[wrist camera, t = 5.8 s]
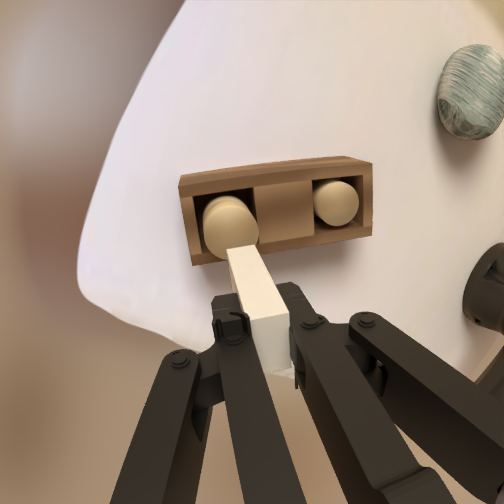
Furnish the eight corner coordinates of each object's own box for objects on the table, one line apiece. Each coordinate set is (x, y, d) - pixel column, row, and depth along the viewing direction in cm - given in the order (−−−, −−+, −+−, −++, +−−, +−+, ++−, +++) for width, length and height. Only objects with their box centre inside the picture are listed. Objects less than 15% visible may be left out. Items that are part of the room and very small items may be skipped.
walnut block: (345, 217, 35) (371, 235, 29) (192, 241, 33) (192, 265, 27) (344, 155, 32) (372, 163, 27) (181, 175, 30) (177, 186, 25)
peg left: (250, 233, 29) (261, 255, 24) (206, 241, 28) (208, 264, 24) (245, 190, 27) (255, 204, 23) (199, 197, 27) (199, 212, 22)
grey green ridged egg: (474, 166, 32) (518, 138, 22) (414, 123, 33) (446, 82, 23) (492, 97, 32) (526, 64, 22) (440, 60, 33) (466, 18, 23)
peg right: (337, 208, 33) (358, 222, 29) (302, 213, 33) (319, 228, 28) (335, 172, 32) (358, 180, 27) (299, 175, 31) (317, 184, 27)
